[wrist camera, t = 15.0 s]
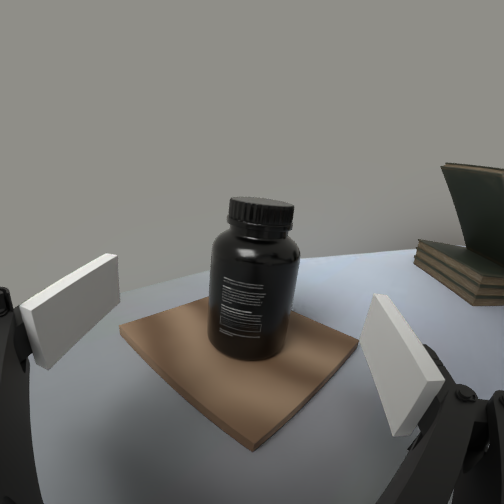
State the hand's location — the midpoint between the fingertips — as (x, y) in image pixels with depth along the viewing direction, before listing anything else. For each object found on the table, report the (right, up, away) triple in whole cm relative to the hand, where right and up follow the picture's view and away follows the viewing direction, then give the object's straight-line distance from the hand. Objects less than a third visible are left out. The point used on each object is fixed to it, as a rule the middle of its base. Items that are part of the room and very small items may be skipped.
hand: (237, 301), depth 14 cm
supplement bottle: (0, -5, +11) cm, 12 cm away
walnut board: (0, -6, +11) cm, 13 cm away
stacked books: (+48, -5, +36) cm, 60 cm away
